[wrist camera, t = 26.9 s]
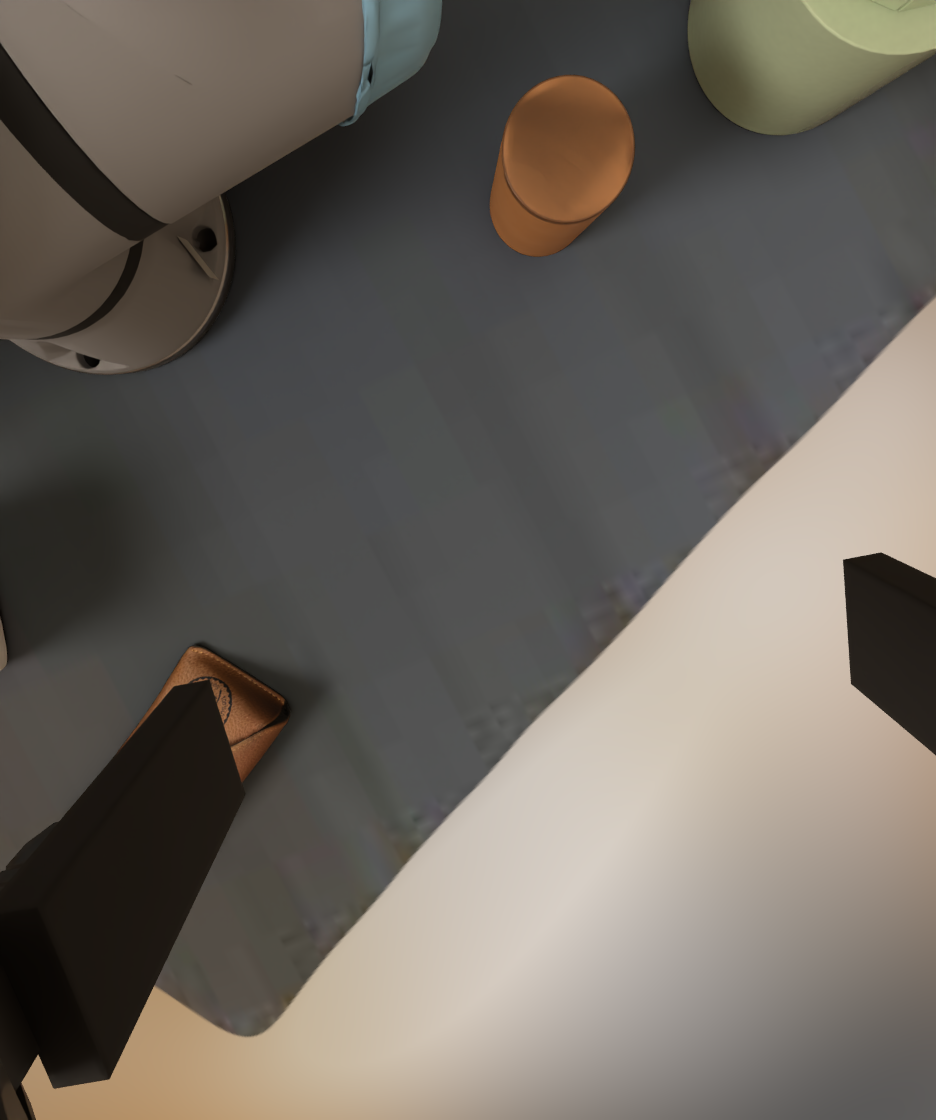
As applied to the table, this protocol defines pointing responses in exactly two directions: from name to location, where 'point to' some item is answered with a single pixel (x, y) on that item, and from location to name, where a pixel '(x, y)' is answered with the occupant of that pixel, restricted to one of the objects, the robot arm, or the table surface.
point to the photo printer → (2, 648)
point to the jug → (803, 55)
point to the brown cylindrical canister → (560, 163)
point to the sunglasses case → (233, 704)
